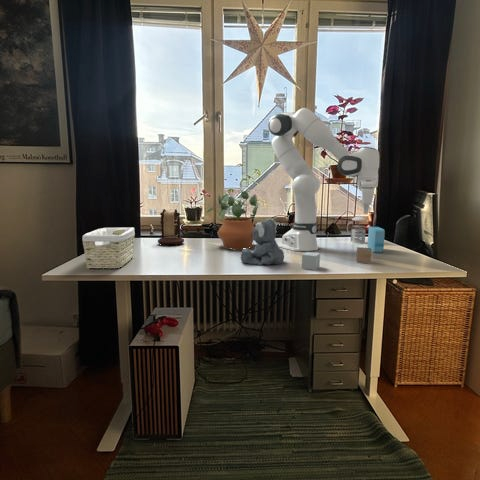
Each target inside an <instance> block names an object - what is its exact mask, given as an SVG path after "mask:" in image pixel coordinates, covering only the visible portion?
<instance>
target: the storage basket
mask: <svg viewBox="0 0 480 480" xmlns="http://www.w3.org/2000/svg"><path fill="white" fill-rule="evenodd" d="M135 236H136V233H135V227H103V228H102V227H101V228H97V229H95V230H92V231H90V232H87V233H85V234H83V235H82V245H83V251H84V258H85V265H86V268H87V269H89V268H103V269H104V268H109V269H110V268H114V269H115V268H118V269H121V268H122V267H123V266H124V265H126V264H127V263H128V261H129V262H130V261H131V260H132V259H134V250H135V249H134V248H135ZM131 258H132V259H131ZM120 267H121V268H120Z"/></svg>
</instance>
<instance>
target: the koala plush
mask: <svg viewBox="0 0 480 480" xmlns="http://www.w3.org/2000/svg"><path fill="white" fill-rule="evenodd" d="M254 227H255V229H254V231H253V232H252V233H251V236H252V237H253V242H255V243H256V245H255V247H254V250H253V251H251V249H250V248H248V249H247V248H246V249H241V254H240V262H241V263H243V264H246V263H248V265H256V264H257V265H258V266H263V265H265V266H268V265H271V264H272V265H279V264H281V263H283V262H284V260H285V252H284V250H283V248H281V247H278V244H279V243H277V241H276V230H277V223H276V221H275V220H274V219H273V218H272V217H269V218H267V219H265V220H260V221H259V222H257V223H256V224H255V226H254Z"/></svg>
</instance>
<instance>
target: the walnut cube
mask: <svg viewBox="0 0 480 480" xmlns="http://www.w3.org/2000/svg"><path fill="white" fill-rule="evenodd" d="M372 253H373V252H372V250H371V248H368V247H358V246H357V247H356V257H355V258H356V260H355V261H356V264H367V265H371V264H372Z"/></svg>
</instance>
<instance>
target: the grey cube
mask: <svg viewBox="0 0 480 480" xmlns="http://www.w3.org/2000/svg"><path fill="white" fill-rule="evenodd" d="M320 262H321V253H319V252H311V251H304V253H302V254H301V269H303V270H305V269H306V270H313V271H317V270H318V268H320V267H321V265H320V264H321V263H320Z"/></svg>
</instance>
